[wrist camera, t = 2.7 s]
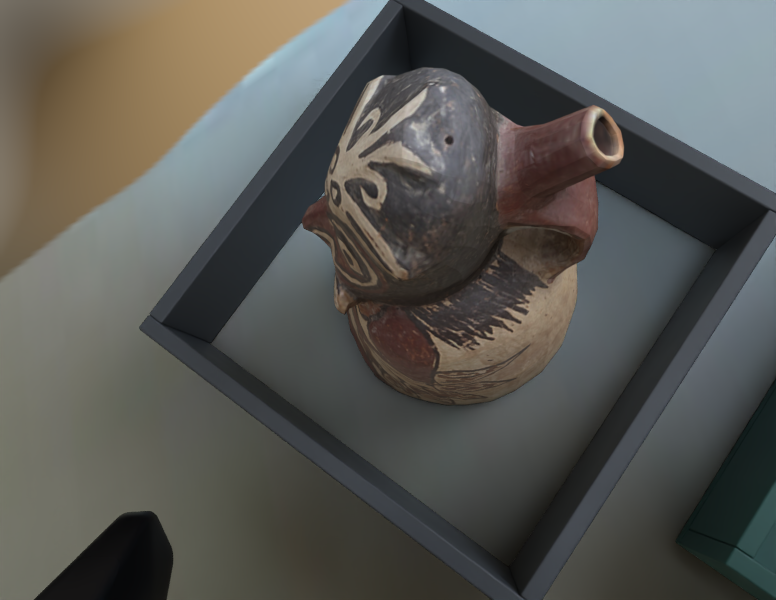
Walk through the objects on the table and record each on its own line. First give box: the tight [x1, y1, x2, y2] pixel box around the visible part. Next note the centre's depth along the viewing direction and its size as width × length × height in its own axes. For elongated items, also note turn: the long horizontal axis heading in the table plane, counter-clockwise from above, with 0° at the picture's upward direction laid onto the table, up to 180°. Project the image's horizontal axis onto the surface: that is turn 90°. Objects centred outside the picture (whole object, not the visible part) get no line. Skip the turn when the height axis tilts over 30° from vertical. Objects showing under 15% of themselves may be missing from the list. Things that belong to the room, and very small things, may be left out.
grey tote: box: [139, 0, 776, 600], centre depth 20 cm, size 13×13×4 cm
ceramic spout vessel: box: [302, 67, 624, 405], centre depth 16 cm, size 7×7×12 cm
